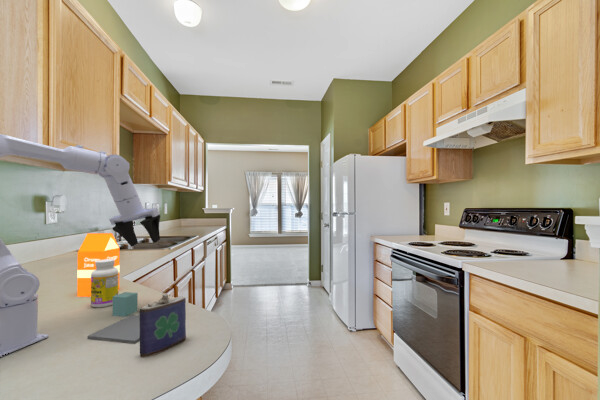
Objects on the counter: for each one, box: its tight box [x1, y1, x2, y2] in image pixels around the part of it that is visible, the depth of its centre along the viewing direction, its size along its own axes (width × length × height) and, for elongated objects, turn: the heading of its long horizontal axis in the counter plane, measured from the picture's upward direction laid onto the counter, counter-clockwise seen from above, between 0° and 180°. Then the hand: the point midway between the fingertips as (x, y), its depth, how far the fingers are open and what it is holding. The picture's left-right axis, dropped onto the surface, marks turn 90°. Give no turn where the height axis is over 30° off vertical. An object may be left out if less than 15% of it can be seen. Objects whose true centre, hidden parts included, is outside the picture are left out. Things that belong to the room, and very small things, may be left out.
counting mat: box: [87, 314, 140, 345], centre depth 65 cm, size 12×12×1 cm
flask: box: [138, 292, 187, 358], centre depth 56 cm, size 9×3×11 cm, turn 144°
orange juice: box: [76, 232, 121, 298], centre depth 93 cm, size 8×9×20 cm
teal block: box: [112, 291, 138, 318], centre depth 75 cm, size 4×4×5 cm
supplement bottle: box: [90, 259, 119, 308], centre depth 82 cm, size 7×7×13 cm
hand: (145, 243), depth 79 cm, fingers open, 7 cm apart
